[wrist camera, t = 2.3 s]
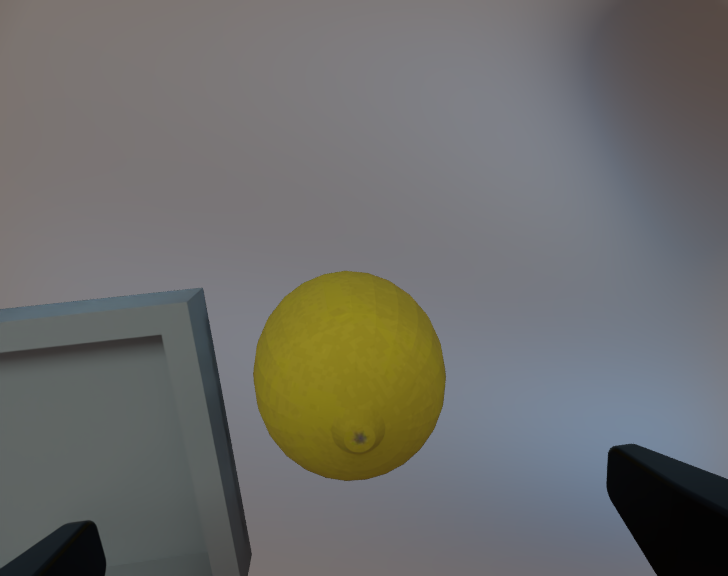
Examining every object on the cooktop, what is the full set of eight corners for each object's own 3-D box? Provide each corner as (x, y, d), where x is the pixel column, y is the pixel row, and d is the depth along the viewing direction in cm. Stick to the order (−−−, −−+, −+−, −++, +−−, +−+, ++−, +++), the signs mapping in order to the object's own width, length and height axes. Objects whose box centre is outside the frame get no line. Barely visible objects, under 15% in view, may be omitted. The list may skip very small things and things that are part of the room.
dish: (251, 554, 19) (243, 596, 17) (-40, 597, 18) (-82, 646, 16) (202, 287, 16) (186, 301, 14) (-145, 324, 15) (-212, 344, 14)
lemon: (441, 322, 18) (535, 433, 10) (342, 414, 18) (356, 589, 10) (344, 221, 16) (363, 258, 8) (240, 324, 17) (169, 446, 9)
